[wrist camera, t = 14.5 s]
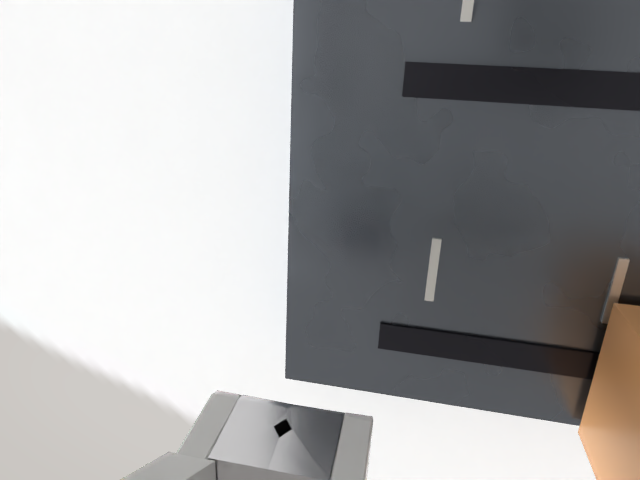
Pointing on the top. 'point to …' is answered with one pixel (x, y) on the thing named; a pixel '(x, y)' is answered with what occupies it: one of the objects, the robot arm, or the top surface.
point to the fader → (615, 400)
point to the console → (462, 197)
